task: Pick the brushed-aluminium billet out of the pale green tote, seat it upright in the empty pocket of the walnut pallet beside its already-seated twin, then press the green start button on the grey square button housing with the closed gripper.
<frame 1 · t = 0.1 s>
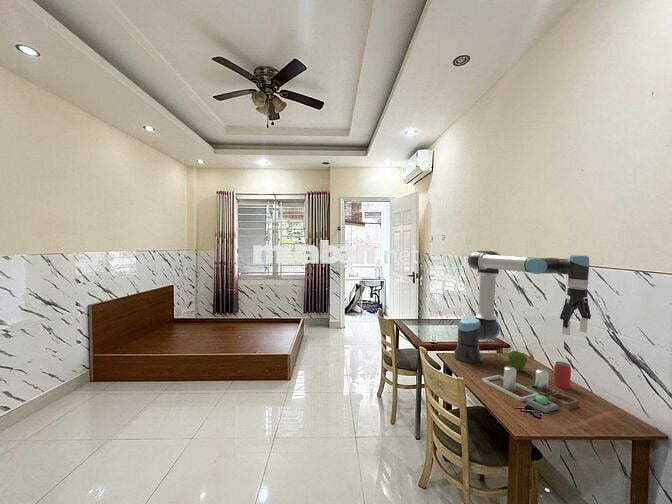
hand: (574, 333, 146), 28 cm above the table, fingers open, 13 cm apart
billet: (509, 389, 145), point 1 cm above the table, touching tote
beer can: (561, 388, 150), on the table
start button: (541, 400, 129), point 4 cm above the table, slide at 0.0 cm
apple: (516, 372, 168), on the table
grey square button housing: (541, 408, 130), on the table
pallet: (551, 400, 137), on the table
tote: (509, 390, 145), on the table
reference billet: (541, 393, 141), point 1 cm above the table, touching pallet
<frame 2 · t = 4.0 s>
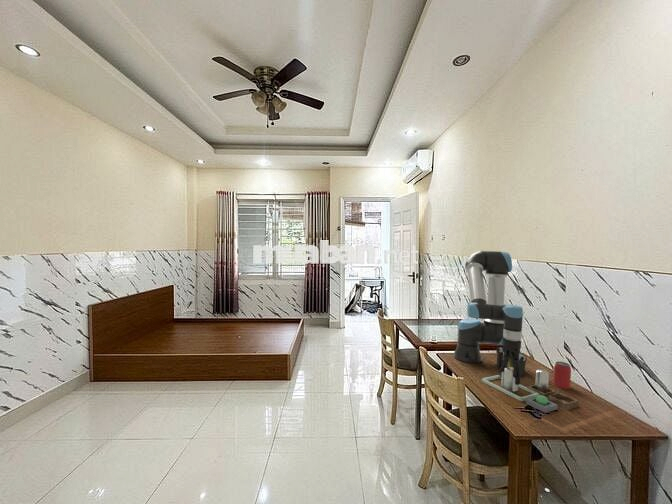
hand: (509, 387, 145), 1 cm above the table, fingers closed on billet, 5 cm apart
billet: (509, 389, 145), point 1 cm above the table, touching gripper, tote
everything else where it was.
when the fingers open (4 cm above the table, at t = 8.9 s): billet drops 2 cm, resting on pallet.
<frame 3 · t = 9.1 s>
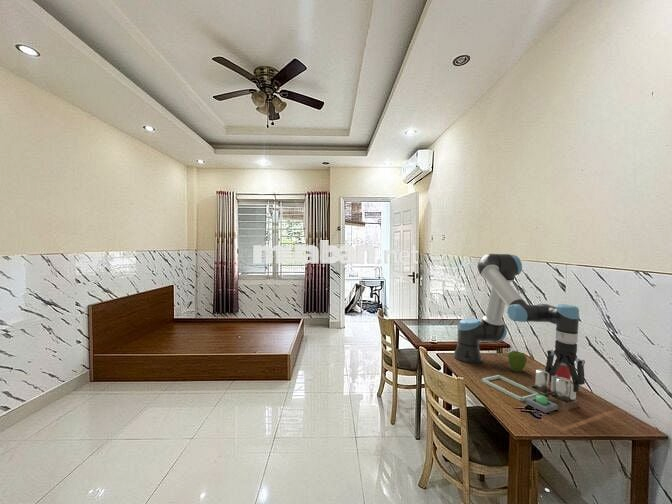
hand: (563, 394, 133), 5 cm above the table, fingers open, 7 cm apart
billet: (561, 402, 133), point 1 cm above the table, touching pallet
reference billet: (541, 393, 141), point 1 cm above the table, touching gripper, pallet
everything else where it was.
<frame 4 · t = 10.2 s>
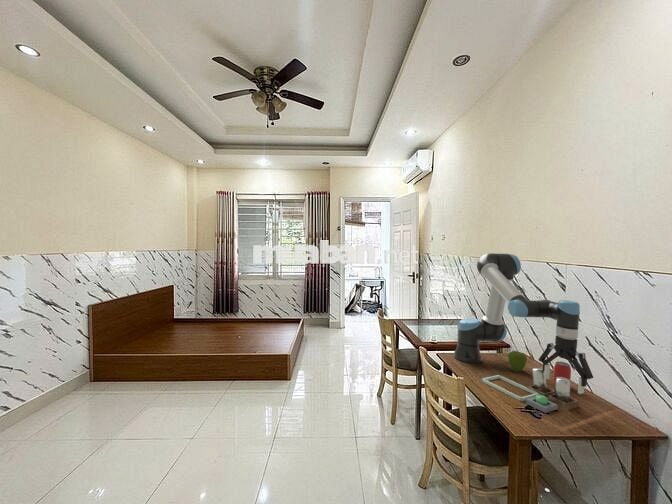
hand: (562, 385, 133), 8 cm above the table, fingers open, 13 cm apart
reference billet: (541, 392, 141), point 2 cm above the table, tilted 11°, touching pallet
everything else where it was.
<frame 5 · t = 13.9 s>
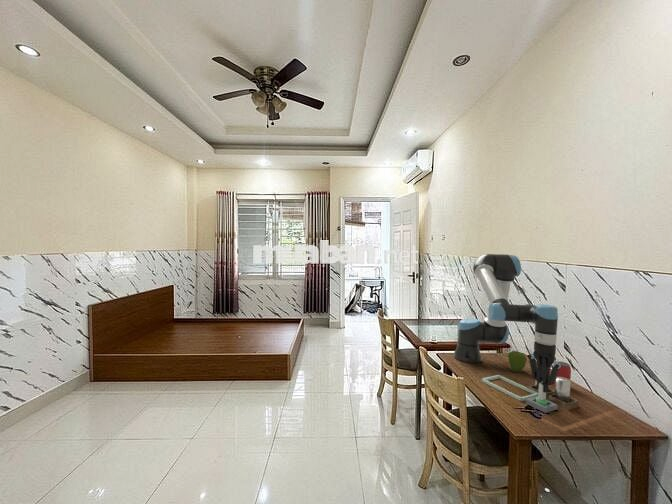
hand: (541, 398, 129), 4 cm above the table, fingers closed
start button: (541, 402, 129), point 3 cm above the table, slide at 0.8 cm, touching gripper
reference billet: (541, 393, 141), point 1 cm above the table, touching pallet
everything else where it was.
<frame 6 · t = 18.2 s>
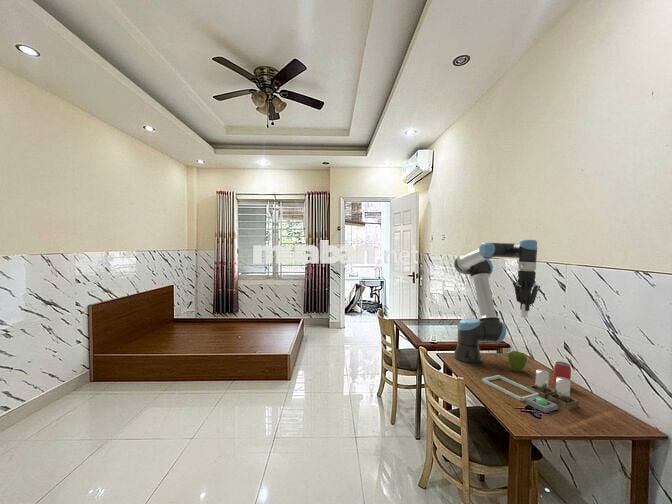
hand: (524, 316, 156), 32 cm above the table, fingers closed
start button: (541, 403, 129), point 3 cm above the table, slide at 1.0 cm
everything else where it was.
at the end: billet 0.3 cm from the target spot on the pallet, point 1.2 cm above the pallet's base; billet tilted 1°; start button slide at 1.0 cm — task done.
